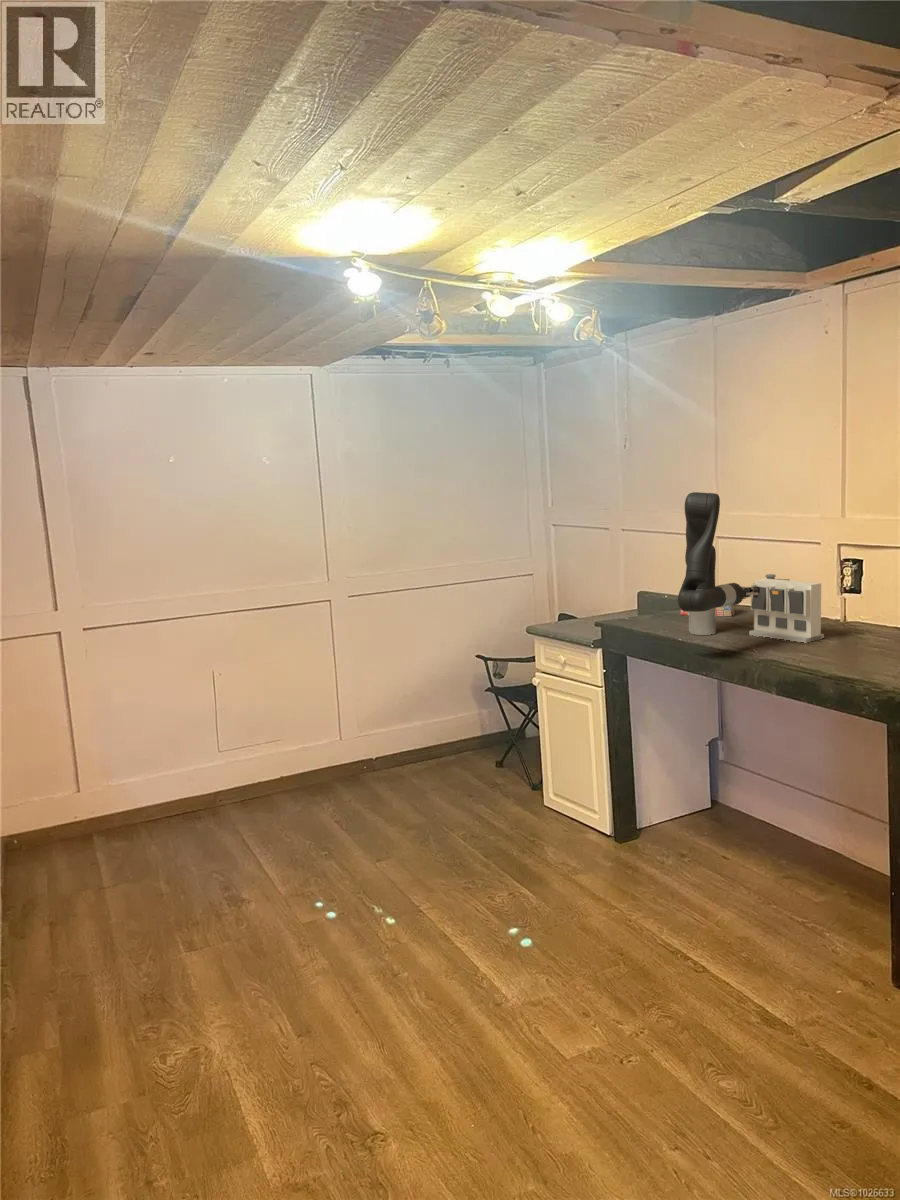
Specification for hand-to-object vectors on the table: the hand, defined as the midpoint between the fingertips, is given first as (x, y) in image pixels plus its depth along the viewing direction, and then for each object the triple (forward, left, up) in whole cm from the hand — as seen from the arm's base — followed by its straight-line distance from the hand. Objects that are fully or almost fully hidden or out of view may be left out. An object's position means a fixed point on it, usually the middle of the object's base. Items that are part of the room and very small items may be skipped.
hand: (757, 589), depth 312 cm
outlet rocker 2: (+4, +14, -9) cm, 17 cm away
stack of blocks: (-58, +22, -20) cm, 65 cm away
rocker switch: (-10, +9, -9) cm, 16 cm away
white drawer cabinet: (-5, +17, -19) cm, 26 cm away
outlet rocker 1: (-3, +12, -9) cm, 16 cm away
